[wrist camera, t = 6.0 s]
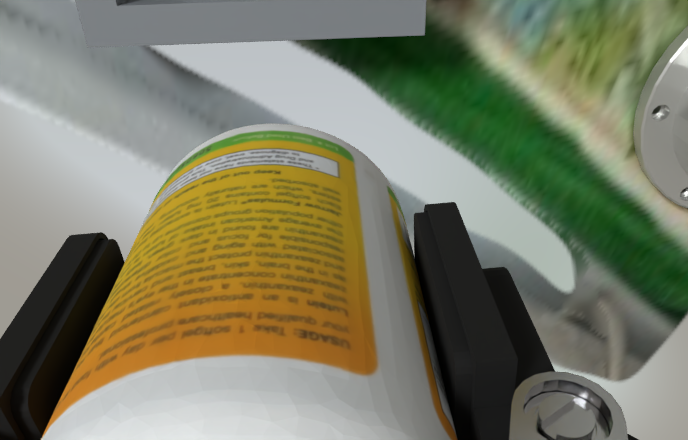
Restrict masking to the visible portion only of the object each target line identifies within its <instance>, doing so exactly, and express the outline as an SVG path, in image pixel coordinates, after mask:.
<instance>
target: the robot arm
mask: <svg viewBox="0 0 688 440" xmlns="http://www.w3.org/2000/svg"><path fill="white" fill-rule="evenodd" d="M633 135H634V143H635V152H636V155H637V158H638V160H639V163H640V166H641V168H642V170H643V172H644V173H645V175H646V176H647V177H648V179H649V180H650V181H651V183H652V184H653V185H654V186H655V187H656V188H657V189H658V190H659V191H660V192H661V193H662V194H663V195H664V196H665V197H667V198H668V199H670V200H671V201H673V202H674V203H676V204H677V205H679V206H682V207H685V208H688V26H687V27H686V28H685V29H684V30H683V31H682V32H681V33H680V34H679V35H678V37H677V38H676V39H675V40H674V41H673V42H672V43H671V44H670V45H669V46H668V48H667V49H666V51H665V52H664V53H663V55H662V56H661V58H660V59H659V61H658V62H657V63H656V65H655V66H654V68H653V70H652V72H651V74H650V76H649V78H648V80H647V82H646V84H645V86H644V88H643V90H642V93H641V96H640V99H639V103H638V106H637V109H636V113H635V122H634V132H633ZM414 252H415V263H416V268H417V272H418V275H419V280H420V285H421V289H422V294H423V298H424V302H425V306H426V310H427V314H428V319H429V323H430V328H431V332H432V336H433V340H434V344H435V348H436V352H437V357H438V361H439V365H440V369H441V373H442V378H443V382H444V386H445V390H446V395H447V399H448V403H449V407H450V411H451V415H452V419H453V423H454V427H455V431H456V436H457V440H638V439H636V438H634V437H633V436H631V435H629V434H627V427H626V422H625V418H624V415H623V412H622V409H621V407H620V406H619V405H618V403H617V402H616V400H615V399H614V398H613V397H612V395H611V394H609V393H608V392H607V391H606V390H604V389H603V388H602V387H601V386H600V385H598V384H596V383H594V382H592V381H590V380H588V379H586V378H584V377H582V376H578V375H574V374H571V373H567V372H555V370H554V368H553V366H552V364H551V362H550V359H549V357H548V355H547V353H546V351H545V349H544V346H543V344H542V342H541V340H540V338H539V336H538V333H537V331H536V329H535V327H534V325H533V323H532V320H531V318H530V316H529V314H528V312H527V310H526V307H525V305H524V303H523V301H522V299H521V297H520V294H519V292H518V290H517V288H516V286H515V284H514V281H513V279H512V277H511V275H510V273H509V271H508V270H507V269H506V268H505V267H499V268H487V269H482V268H481V265H480V263H479V260H478V258H477V255H476V253H475V250H474V248H473V245H472V243H471V240H470V238H469V235H468V233H467V230H466V228H465V225H464V223H463V220H462V217H461V215H460V213H459V210H458V208H457V205H456V203H454V202H451V203H440V204H439V203H438V204H427V205H425V208H424V212H423V213H415V214H414ZM123 265H124V260H123V257H122V254H121V251H120V248H119V246H118V244H117V242H116V241H115V240H114V239H109V240H108V238H107V237H106V235H105V234H103V233H90V234H78V235H71V236H69V237H68V238H67V239H66V241H65V243H64V244H63V246H62V247H61V249H60V250H59V252H58V253H57V255H56V256H55V258H54V259H53V261H52V262H51V264H50V265H49V267H48V268H47V270H46V271H45V273H44V274H43V276H42V277H41V279H40V280H39V282H38V283H37V285H36V286H35V288H34V289H33V291H32V292H31V294H30V295H29V297H28V298H27V300H26V301H25V303H24V304H23V306H22V307H21V309H20V310H19V312H18V313H17V315H16V316H15V318H14V319H13V321H12V322H11V324H10V325H9V327H8V328H7V330H6V331H5V333H4V334H3V336H2V337H1V339H0V440H41V438H42V436H43V434H44V431H45V429H46V427H47V425H48V423H49V421H50V419H51V417H52V415H53V412H54V410H55V408H56V406H57V404H58V402H59V400H60V398H61V396H62V394H63V392H64V390H65V387H66V385H67V383H68V381H69V379H70V377H71V375H72V373H73V371H74V369H75V367H76V365H77V363H78V361H79V359H80V356H81V354H82V352H83V350H84V348H85V346H86V344H87V342H88V339H89V337H90V335H91V333H92V331H93V329H94V327H95V324H96V322H97V320H98V318H99V316H100V314H101V312H102V310H103V308H104V306H105V303H106V301H107V299H108V297H109V295H110V293H111V291H112V289H113V287H114V285H115V282H116V280H117V278H118V276H119V274H120V272H121V270H122V267H123Z"/></svg>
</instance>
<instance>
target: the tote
mask: <svg viewBox="0 0 688 440" xmlns="http://www.w3.org/2000/svg"><path fill="white" fill-rule="evenodd" d="M75 2H76V6H77V10H78V13H79V17H80V21H81V25H82V29H83V32H84V36H85V40H86V44H87V48H92V47H119V46H146V45H174V44H200V43H228V42H253V41H254V42H255V41H283V40H310V39H337V38H365V37H392V36H419V35H425V19H426V0H75Z"/></svg>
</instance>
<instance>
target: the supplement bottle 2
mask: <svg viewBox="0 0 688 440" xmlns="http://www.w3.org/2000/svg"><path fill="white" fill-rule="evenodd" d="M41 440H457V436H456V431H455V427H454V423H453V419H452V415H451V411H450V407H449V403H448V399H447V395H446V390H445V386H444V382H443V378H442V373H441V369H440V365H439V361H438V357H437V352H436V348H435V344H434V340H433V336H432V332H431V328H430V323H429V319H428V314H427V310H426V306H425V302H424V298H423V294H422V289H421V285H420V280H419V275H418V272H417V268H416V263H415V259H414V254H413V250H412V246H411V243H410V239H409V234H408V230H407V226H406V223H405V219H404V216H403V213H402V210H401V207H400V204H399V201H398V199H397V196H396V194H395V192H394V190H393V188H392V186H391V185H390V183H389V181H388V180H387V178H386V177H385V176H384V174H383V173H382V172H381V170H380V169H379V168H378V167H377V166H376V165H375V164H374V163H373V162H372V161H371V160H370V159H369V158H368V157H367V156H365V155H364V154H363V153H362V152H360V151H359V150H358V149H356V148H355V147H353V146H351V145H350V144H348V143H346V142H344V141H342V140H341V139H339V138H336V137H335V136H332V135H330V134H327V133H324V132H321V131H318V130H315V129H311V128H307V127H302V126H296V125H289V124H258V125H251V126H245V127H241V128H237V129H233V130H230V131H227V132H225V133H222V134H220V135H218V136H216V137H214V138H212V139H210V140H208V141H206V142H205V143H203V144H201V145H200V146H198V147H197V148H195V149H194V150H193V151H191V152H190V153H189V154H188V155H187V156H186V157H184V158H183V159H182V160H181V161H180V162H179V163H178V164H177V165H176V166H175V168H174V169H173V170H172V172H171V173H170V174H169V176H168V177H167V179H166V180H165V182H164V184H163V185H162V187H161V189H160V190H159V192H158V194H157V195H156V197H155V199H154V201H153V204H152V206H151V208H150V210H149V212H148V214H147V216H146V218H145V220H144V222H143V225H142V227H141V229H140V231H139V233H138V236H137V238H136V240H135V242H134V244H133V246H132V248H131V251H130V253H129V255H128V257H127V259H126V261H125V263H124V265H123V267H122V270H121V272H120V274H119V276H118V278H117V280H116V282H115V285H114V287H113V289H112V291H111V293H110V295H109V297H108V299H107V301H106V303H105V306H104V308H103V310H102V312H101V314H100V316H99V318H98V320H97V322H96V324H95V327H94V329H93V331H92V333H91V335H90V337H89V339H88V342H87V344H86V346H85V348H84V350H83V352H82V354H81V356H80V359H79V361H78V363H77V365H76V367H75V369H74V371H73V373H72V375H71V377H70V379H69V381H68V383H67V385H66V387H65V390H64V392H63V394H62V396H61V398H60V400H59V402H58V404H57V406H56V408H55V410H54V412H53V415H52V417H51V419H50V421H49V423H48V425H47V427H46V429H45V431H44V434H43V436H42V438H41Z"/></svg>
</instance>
